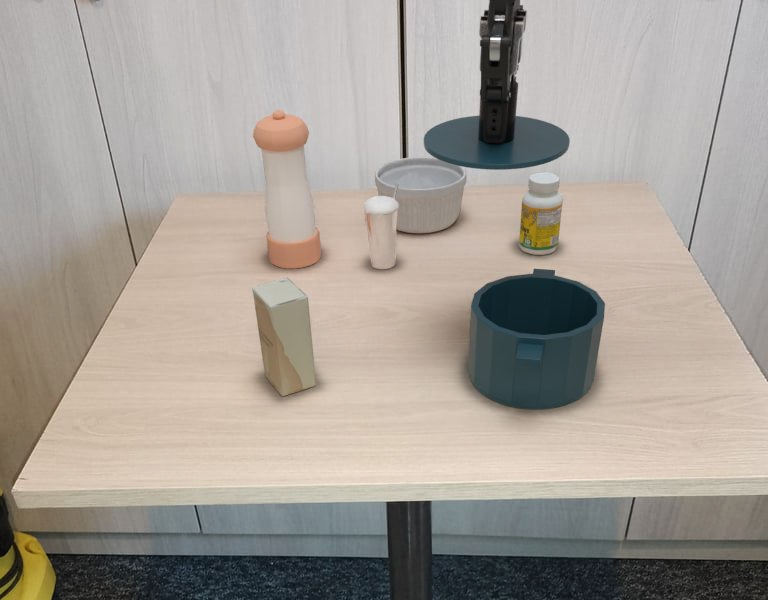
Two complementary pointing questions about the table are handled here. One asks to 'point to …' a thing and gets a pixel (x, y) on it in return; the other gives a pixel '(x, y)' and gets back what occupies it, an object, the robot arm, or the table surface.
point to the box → (285, 335)
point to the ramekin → (423, 192)
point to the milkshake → (382, 229)
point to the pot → (534, 340)
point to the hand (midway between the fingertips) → (496, 133)
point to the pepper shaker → (287, 191)
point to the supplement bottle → (541, 214)
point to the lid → (519, 150)
